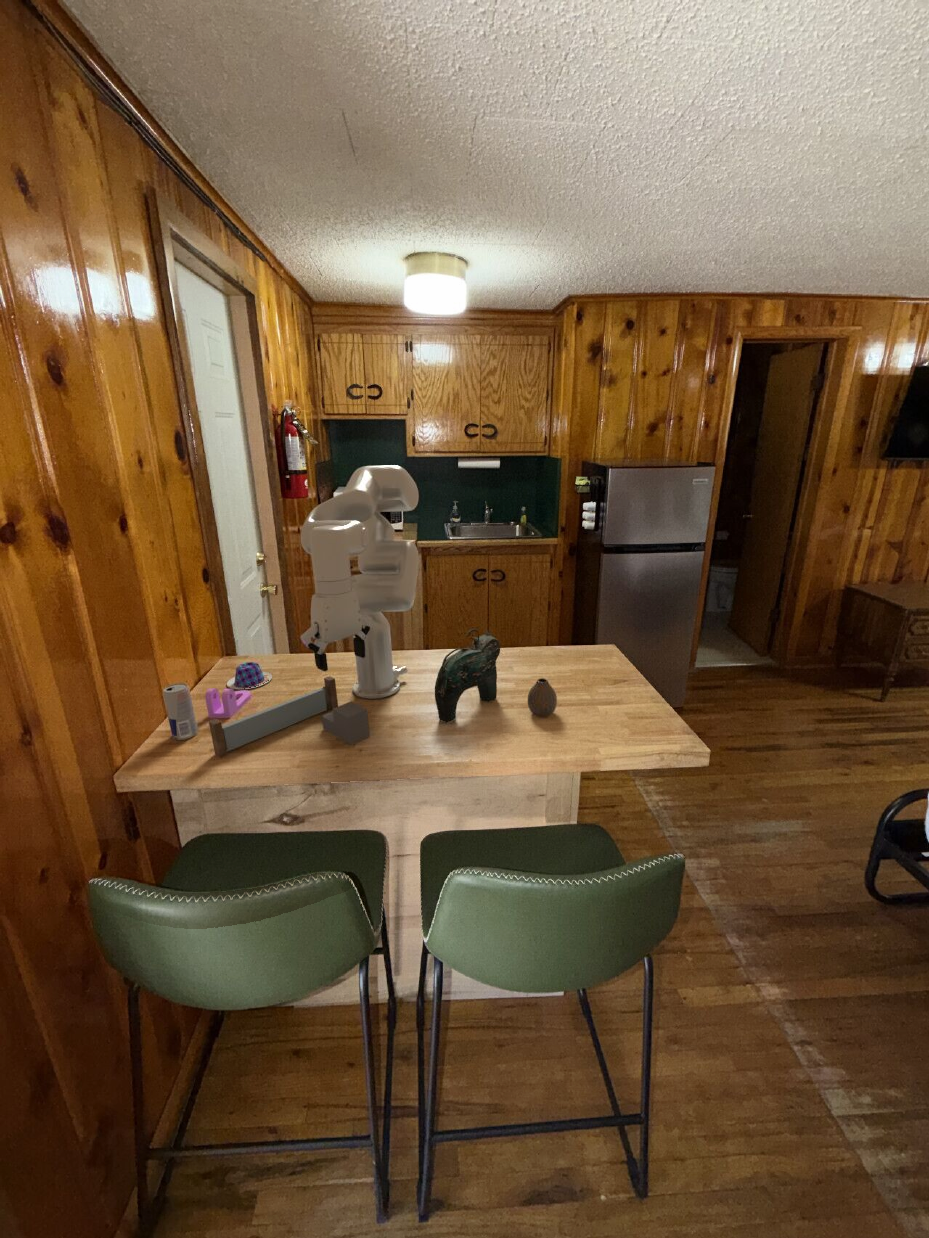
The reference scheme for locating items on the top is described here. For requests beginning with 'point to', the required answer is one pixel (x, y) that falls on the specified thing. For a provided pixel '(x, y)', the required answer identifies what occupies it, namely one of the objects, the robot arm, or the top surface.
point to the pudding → (248, 676)
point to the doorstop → (347, 722)
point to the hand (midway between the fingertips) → (341, 662)
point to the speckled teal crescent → (467, 674)
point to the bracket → (225, 702)
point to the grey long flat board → (274, 718)
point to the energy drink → (180, 711)
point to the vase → (542, 698)
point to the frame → (217, 726)
